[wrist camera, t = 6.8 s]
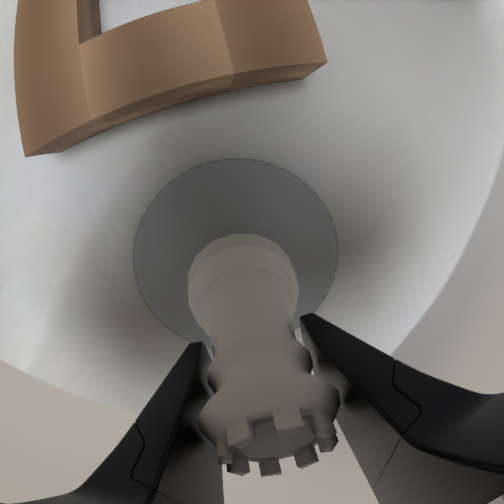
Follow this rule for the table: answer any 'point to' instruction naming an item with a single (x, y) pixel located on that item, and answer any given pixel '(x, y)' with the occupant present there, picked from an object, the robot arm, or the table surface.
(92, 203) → the table surface
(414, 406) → the robot arm
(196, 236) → the coaster
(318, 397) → the rook chess piece
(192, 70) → the pocket block
